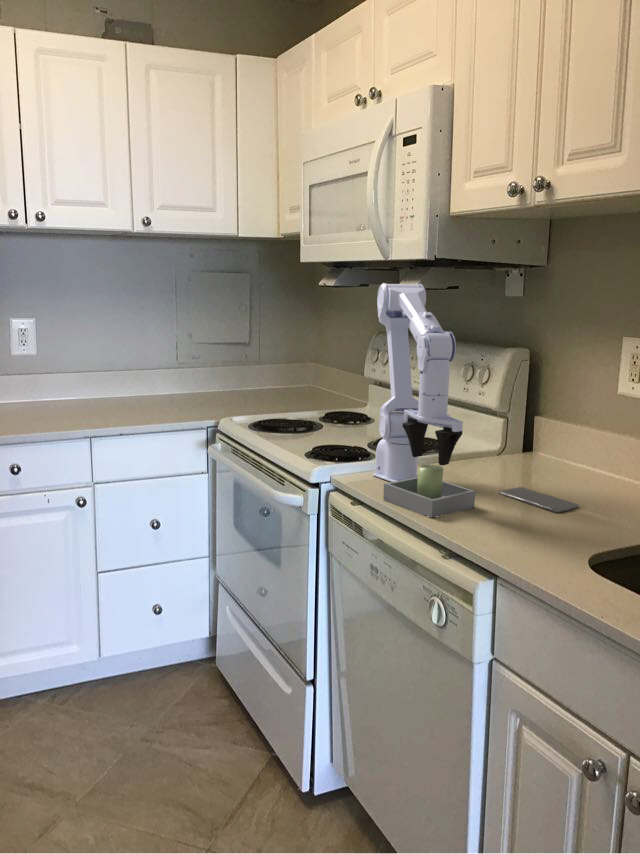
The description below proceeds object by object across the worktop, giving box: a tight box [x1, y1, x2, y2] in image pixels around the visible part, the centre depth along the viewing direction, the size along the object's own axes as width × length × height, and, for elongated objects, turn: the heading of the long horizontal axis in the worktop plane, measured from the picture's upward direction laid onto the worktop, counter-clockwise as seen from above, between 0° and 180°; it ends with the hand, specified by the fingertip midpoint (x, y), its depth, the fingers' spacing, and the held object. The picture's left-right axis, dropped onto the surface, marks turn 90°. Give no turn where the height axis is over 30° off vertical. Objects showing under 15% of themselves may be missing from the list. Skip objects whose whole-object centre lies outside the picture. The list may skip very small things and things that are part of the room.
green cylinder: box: [417, 464, 444, 499], centre depth 149 cm, size 5×5×7 cm
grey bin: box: [382, 477, 476, 519], centre depth 149 cm, size 14×12×4 cm
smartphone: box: [498, 486, 581, 514], centre depth 153 cm, size 7×1×16 cm
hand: (430, 460), depth 148 cm, fingers open, 7 cm apart
